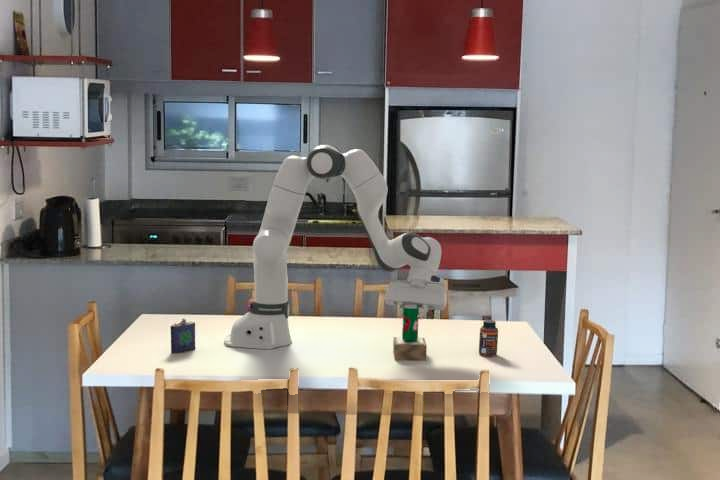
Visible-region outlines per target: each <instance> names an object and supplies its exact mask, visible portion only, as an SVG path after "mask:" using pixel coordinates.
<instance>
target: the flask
mask: <svg viewBox="0 0 720 480" xmlns="http://www.w3.org/2000/svg"><path fill="white" fill-rule="evenodd" d="M194 350H196V322H195V321H188V322H187V319H185V318H181V321H180V322H177V323H174V324H172V325H171V326H170V354H173V355H177V354H180V353H186V352H191V351H194Z"/></svg>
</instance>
